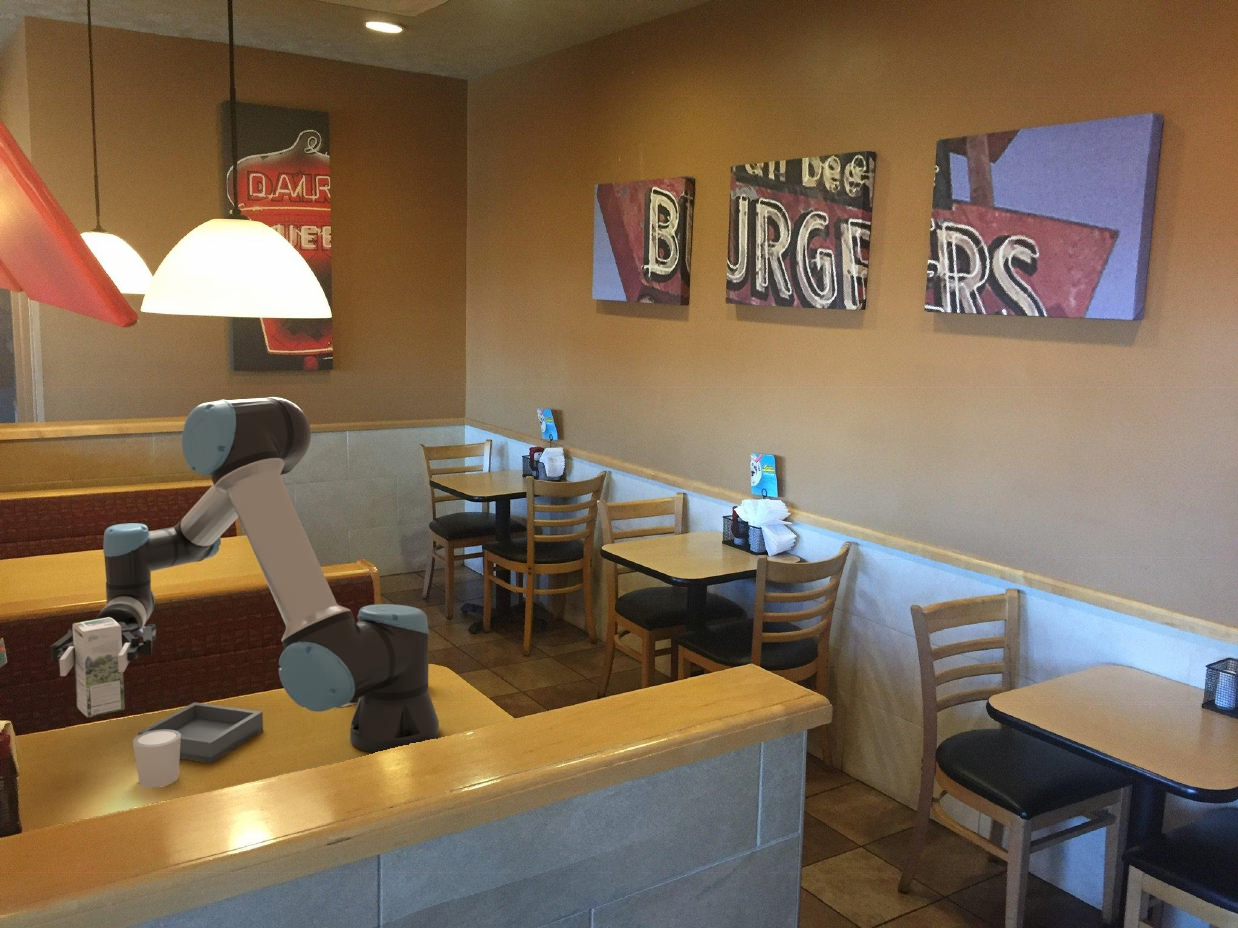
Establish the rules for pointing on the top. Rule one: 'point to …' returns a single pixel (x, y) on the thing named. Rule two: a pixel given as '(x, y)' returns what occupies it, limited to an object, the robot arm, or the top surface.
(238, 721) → the tray
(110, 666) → the syrup box
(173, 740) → the white cup
